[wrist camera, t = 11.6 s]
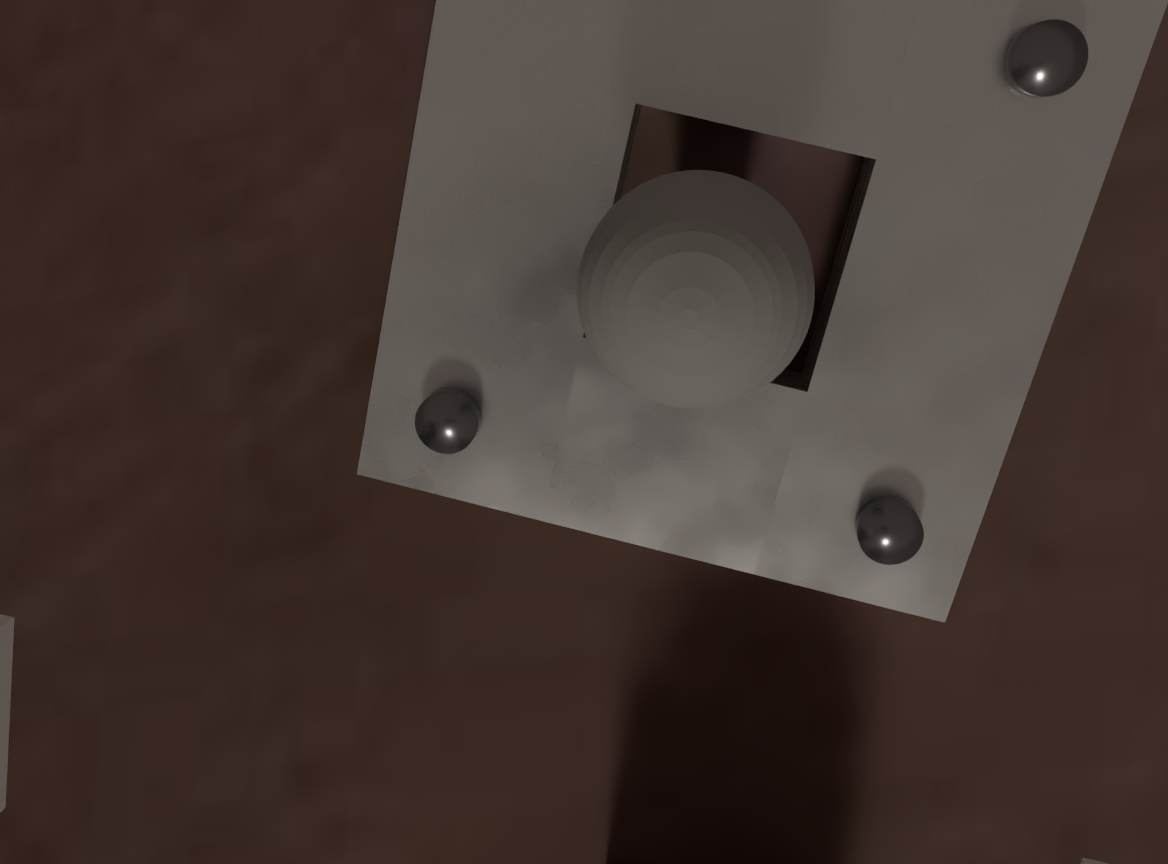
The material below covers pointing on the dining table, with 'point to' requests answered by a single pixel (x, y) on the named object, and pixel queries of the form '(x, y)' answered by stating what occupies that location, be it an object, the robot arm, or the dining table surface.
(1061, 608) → the dining table surface
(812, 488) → the flange
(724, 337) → the light bulb
